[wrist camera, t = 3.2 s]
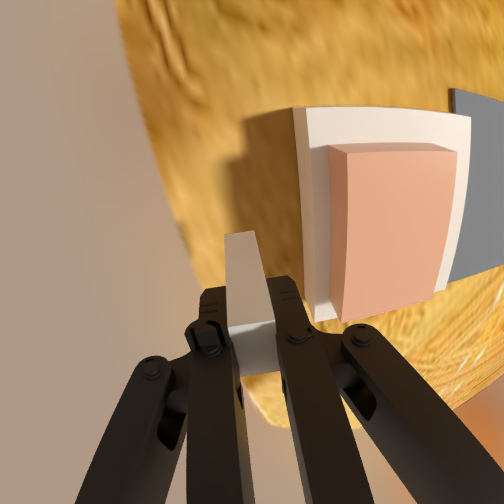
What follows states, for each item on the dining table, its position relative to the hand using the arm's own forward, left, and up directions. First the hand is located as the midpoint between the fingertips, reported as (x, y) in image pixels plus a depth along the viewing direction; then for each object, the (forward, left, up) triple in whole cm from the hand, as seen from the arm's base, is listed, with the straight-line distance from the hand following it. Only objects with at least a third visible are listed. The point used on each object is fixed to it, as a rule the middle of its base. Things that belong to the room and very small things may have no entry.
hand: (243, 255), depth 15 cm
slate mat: (0, +24, -4) cm, 24 cm away
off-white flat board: (0, +10, -4) cm, 11 cm away
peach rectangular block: (0, +9, -1) cm, 9 cm away
